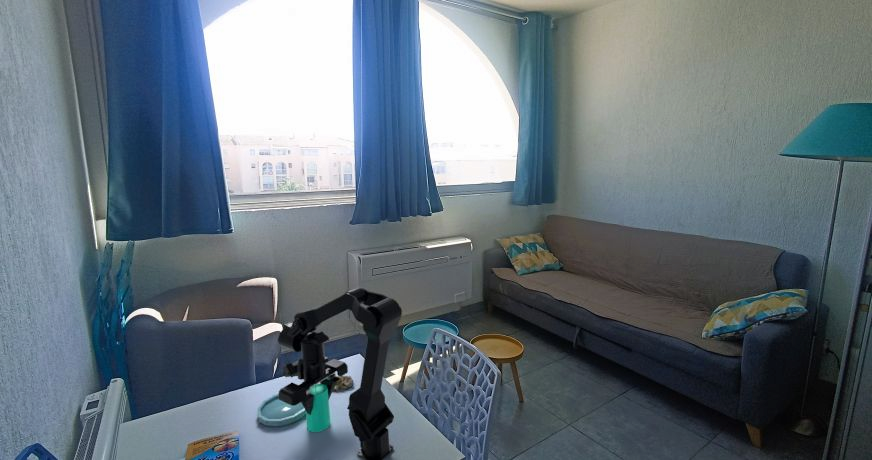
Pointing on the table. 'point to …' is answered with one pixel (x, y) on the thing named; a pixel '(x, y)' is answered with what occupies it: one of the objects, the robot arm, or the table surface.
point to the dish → (279, 412)
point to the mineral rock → (343, 383)
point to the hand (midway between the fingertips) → (317, 409)
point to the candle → (319, 409)
